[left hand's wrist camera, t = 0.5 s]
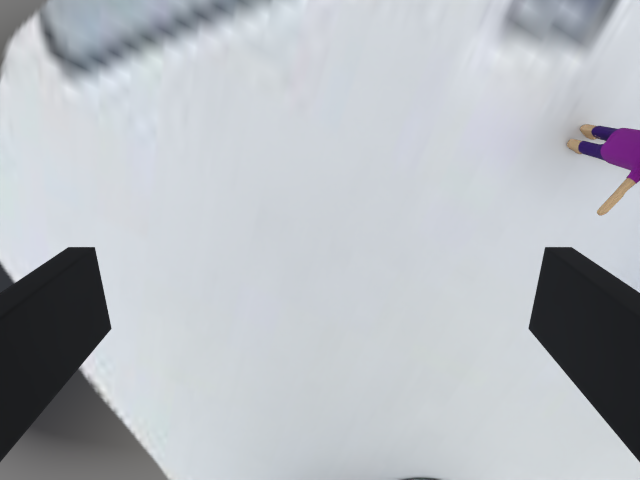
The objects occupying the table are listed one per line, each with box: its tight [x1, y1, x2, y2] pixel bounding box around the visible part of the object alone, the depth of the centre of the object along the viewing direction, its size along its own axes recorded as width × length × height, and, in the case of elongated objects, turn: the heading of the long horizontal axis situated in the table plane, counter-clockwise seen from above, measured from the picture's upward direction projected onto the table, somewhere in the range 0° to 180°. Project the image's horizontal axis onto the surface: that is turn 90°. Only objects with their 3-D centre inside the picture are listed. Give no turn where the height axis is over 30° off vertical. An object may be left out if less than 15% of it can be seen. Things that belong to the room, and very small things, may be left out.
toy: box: [567, 124, 640, 215], centre depth 31 cm, size 10×6×15 cm, turn 145°
